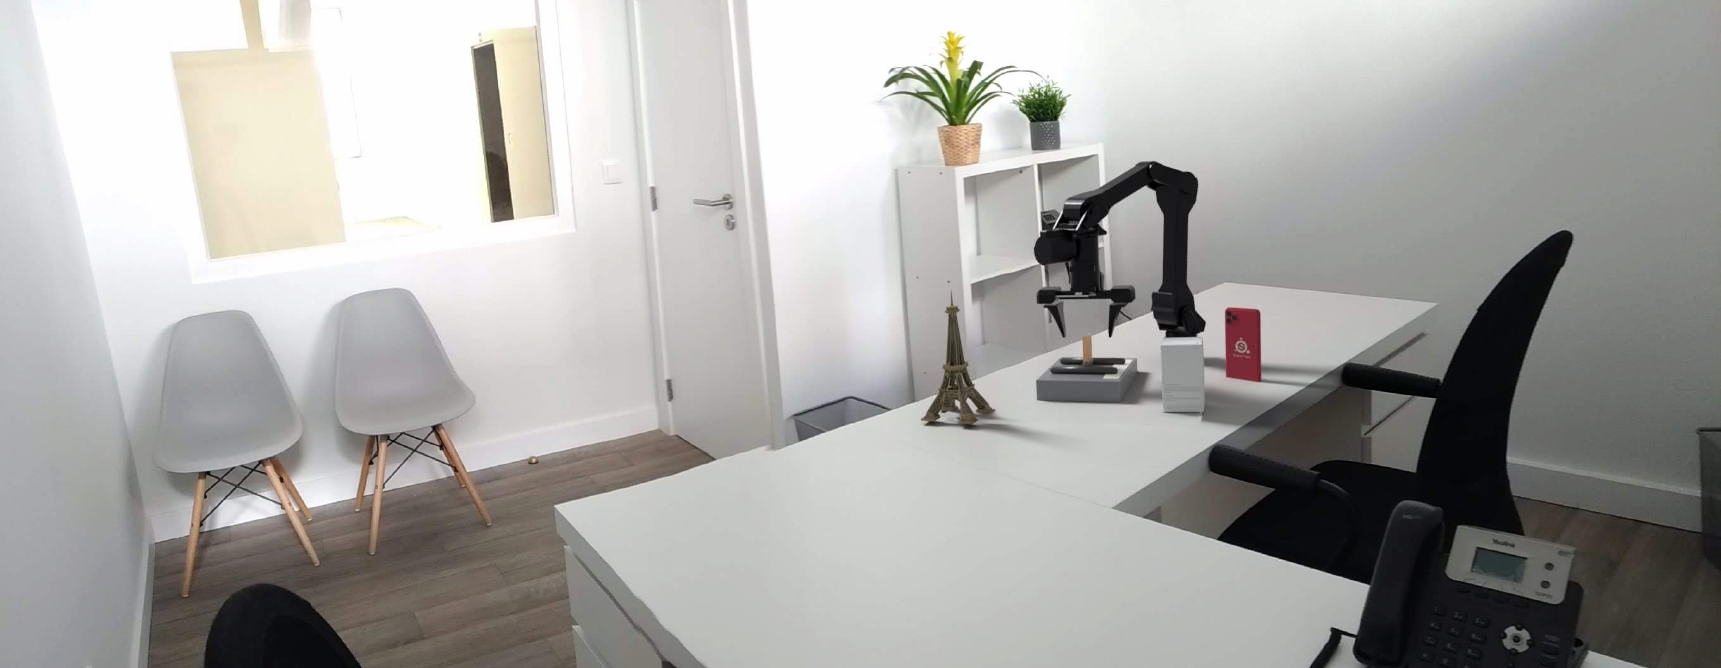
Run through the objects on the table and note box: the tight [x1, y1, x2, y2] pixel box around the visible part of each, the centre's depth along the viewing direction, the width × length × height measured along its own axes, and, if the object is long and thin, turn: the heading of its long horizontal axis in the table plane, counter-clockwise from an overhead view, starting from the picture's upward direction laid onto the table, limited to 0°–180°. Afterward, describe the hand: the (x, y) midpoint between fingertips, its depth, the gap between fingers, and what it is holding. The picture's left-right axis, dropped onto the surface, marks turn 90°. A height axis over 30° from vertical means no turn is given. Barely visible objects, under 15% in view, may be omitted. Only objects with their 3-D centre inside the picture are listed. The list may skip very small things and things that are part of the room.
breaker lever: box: [1082, 333, 1094, 367], centre depth 217 cm, size 2×4×6 cm, turn 157°
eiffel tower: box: [920, 291, 996, 425], centre depth 202 cm, size 11×11×25 cm
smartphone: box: [1224, 306, 1262, 383], centre depth 212 cm, size 7×1×15 cm, turn 42°
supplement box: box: [1159, 336, 1206, 413], centre depth 197 cm, size 7×7×13 cm
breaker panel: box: [1035, 356, 1138, 403], centre depth 218 cm, size 16×22×5 cm
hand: (1087, 337), depth 216 cm, fingers open, 9 cm apart
